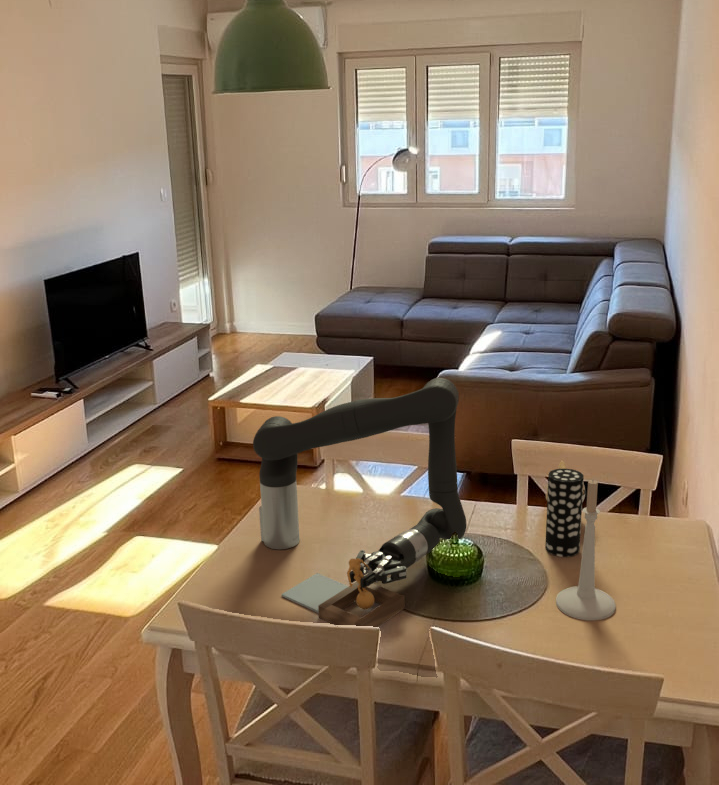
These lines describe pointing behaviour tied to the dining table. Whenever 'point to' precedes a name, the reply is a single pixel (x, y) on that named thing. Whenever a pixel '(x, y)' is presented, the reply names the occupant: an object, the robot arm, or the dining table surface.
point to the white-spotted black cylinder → (564, 512)
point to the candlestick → (587, 574)
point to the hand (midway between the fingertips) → (356, 581)
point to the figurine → (364, 597)
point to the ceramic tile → (314, 591)
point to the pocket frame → (336, 604)
